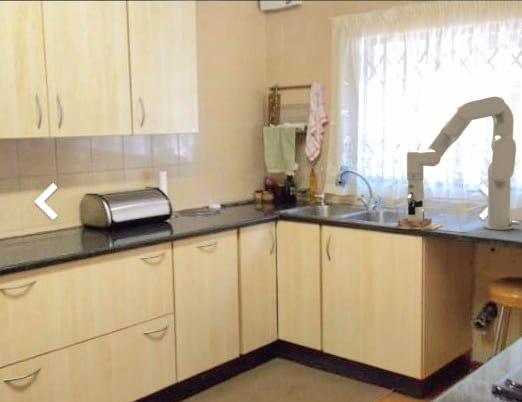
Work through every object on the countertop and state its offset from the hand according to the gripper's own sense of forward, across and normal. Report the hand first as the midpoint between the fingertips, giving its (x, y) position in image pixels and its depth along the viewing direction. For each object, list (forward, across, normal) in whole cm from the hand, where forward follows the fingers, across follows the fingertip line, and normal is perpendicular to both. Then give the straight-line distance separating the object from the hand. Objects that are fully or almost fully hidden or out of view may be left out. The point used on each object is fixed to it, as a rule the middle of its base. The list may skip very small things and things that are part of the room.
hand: (415, 213), depth 304 cm
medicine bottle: (+6, 0, 0) cm, 6 cm away
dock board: (+6, 0, -2) cm, 7 cm away
